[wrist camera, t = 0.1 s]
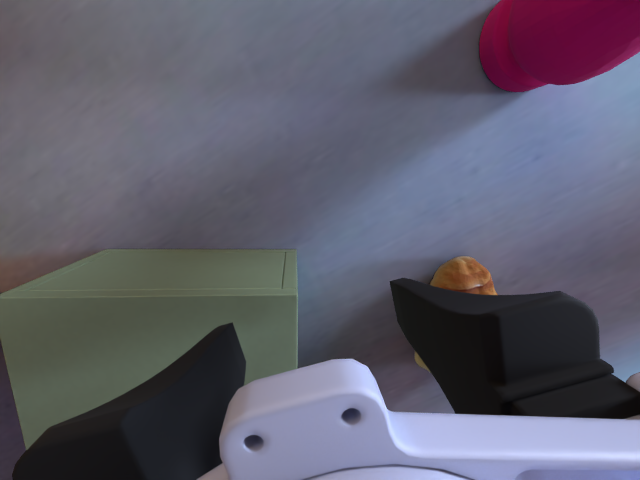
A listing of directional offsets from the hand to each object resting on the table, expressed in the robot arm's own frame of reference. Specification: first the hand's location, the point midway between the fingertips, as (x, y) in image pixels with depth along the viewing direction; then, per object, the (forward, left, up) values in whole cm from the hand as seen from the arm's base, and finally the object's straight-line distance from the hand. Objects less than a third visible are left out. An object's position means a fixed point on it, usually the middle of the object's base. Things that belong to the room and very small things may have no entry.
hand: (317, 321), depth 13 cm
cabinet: (-4, +9, -10) cm, 14 cm away
